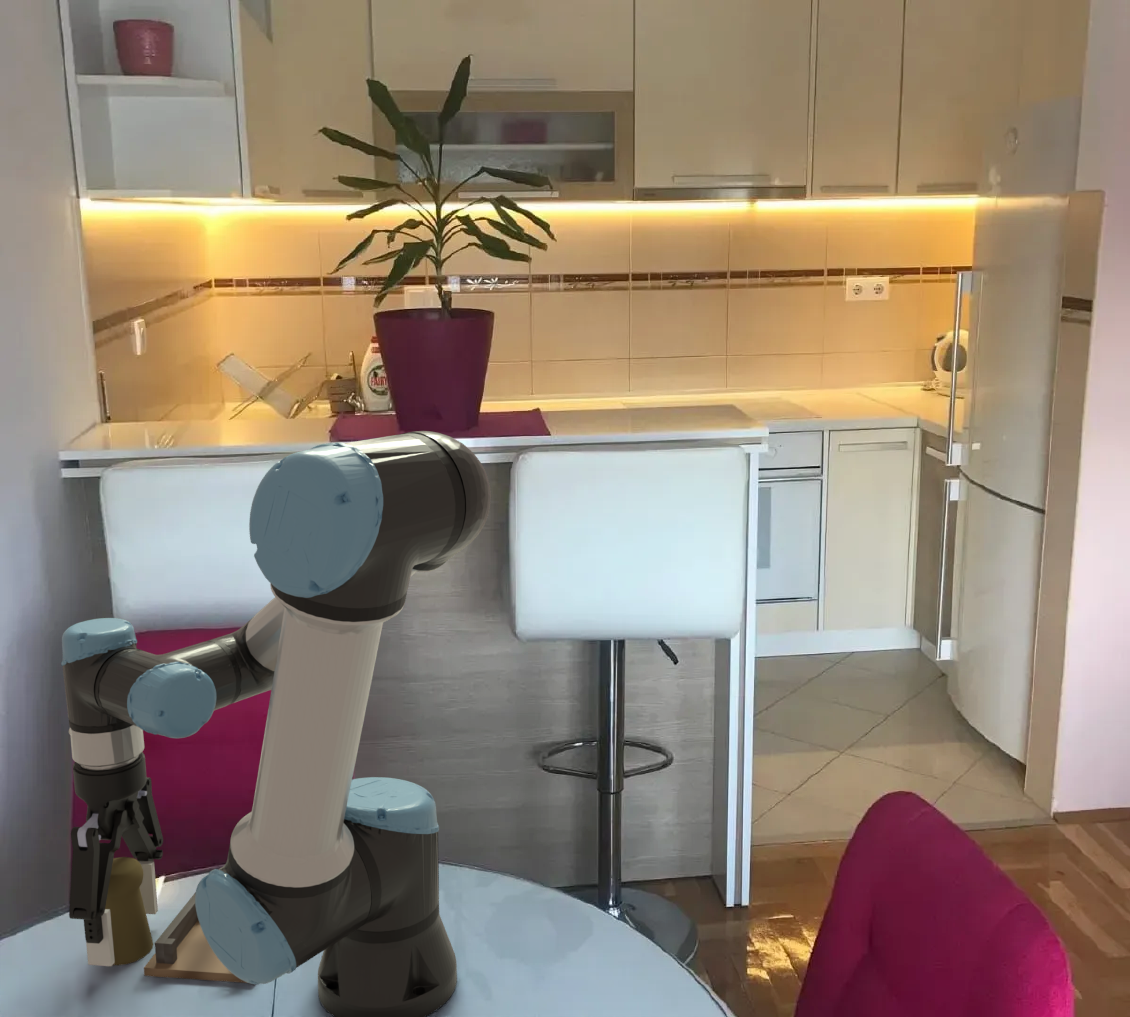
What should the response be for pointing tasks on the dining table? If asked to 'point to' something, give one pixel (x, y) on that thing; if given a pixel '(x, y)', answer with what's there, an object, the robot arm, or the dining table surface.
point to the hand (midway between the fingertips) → (124, 936)
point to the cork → (128, 912)
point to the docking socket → (186, 951)
